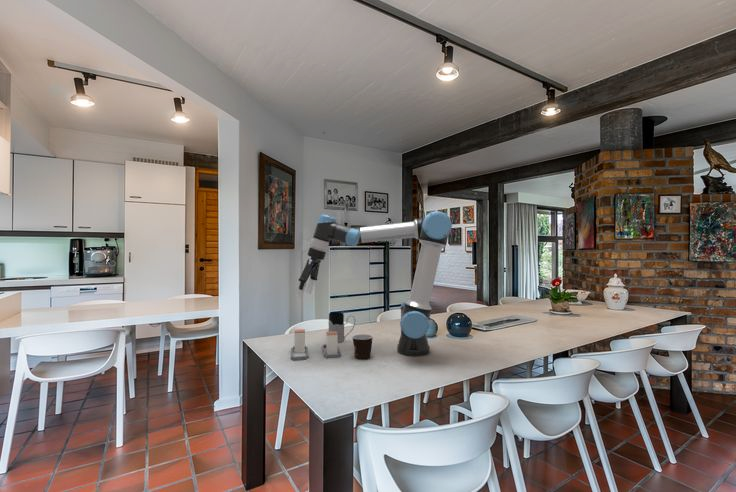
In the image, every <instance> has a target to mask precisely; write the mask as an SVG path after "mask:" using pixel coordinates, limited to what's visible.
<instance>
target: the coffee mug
mask: <svg viewBox="0 0 736 492" xmlns="http://www.w3.org/2000/svg"><path fill="white" fill-rule="evenodd" d="M352 342H353V351H354V359H356V360H360V361H366V360H370V359H371V355H372V353H371V352H372V346H373V335H371V334H355V335H353V336H352Z"/></svg>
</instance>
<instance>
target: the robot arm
mask: <svg viewBox="0 0 736 492" xmlns="http://www.w3.org/2000/svg"><path fill="white" fill-rule="evenodd" d="M452 229H453V224H452V221H451V218H450V216H449V215H448V214H446V213H444V212H442V211H437V210H436V211H431V212H428V213H427V214H426V216H424V217H420V218H414V220H413V221H407V222H397V223H396V222H395V223H386V224H378V225H369V226H359V227H358V226H357V227H351V226H347V225H343V224H340V223H338V222H337V218H336V217H333V216H330V215H327V214H320V215H319V218H318V221H317V222H316V226H315V230H314V233H313V236H312V239H311V240H310V241H311V243H310V246H311V247H309V249H308V251H307V256H308V257H310V258H308V259H307V261H306V263H305V266H304V268H303V270H302V272H301V275H300V277H299V278H298V282H299V283H298V288H297V289H296V290H297V291H296V293H295V297H298V298H303V296H304V293H306V294H308V295H311V294H312V291H313V287H314V286H315V282H316V281H318V277H319V276H318V275H319V270H320V269H319V268H320V265H321V262H322V261H324V260H325V257H326V254H327V253H326V251H328V249H329V248H328V247H329V245H330V242H331V240H333V241H336V242H339V243H342V244H344V245H347V246H351V247H356V246H357V245H358V244H365V243H373V242H384V241H394V240H403V239H413V238H414V239H417V240H419V242H420V244H421V246H420V250H419V255H418V258H417V259H418V260H417V264H416V268H415V273H414V277H413V281H412V286H411V290H410V295H409V298H408V300H406V301H405V302H404V301H403V302H401V304H400V321H399V326H400V338H399V340H398V343H397V346H396V349H397V350H396V351H397V353H399V354H401V355H404V356H409V357H421V356H427V355H429V354H430V353H431V347H430V345H429V341H428V337H427V333H428V331H429V329H430V318H431V315H432V306H431V305H430V301H431V297H432V293H433V288H434V283H435V279H436V275H437V272H438V266H439V262H440V258H441V253H442V249H444V248H446V246H447V243H448V240H449V239H448V238H449V235H450V233H451V231H452Z"/></svg>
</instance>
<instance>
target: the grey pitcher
mask: <svg viewBox="0 0 736 492" xmlns="http://www.w3.org/2000/svg"><path fill="white" fill-rule="evenodd" d="M344 317H345V313H344V312H330V313H328V332H331V331H337V333H338V344H342V343H344V342H345V339H346V337H347V336H348V335H350V333H351V332H353V330H354V328H355V326H356V317H355V315H348V316H347V318H346V323H344V322H345V321H344V320H345V318H344ZM350 317H352V318H353V319H354V323H353V326H352V328H351V329H350V331H349V332H348V333H346V335H345V325H347V324H348V320H349V318H350Z"/></svg>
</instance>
